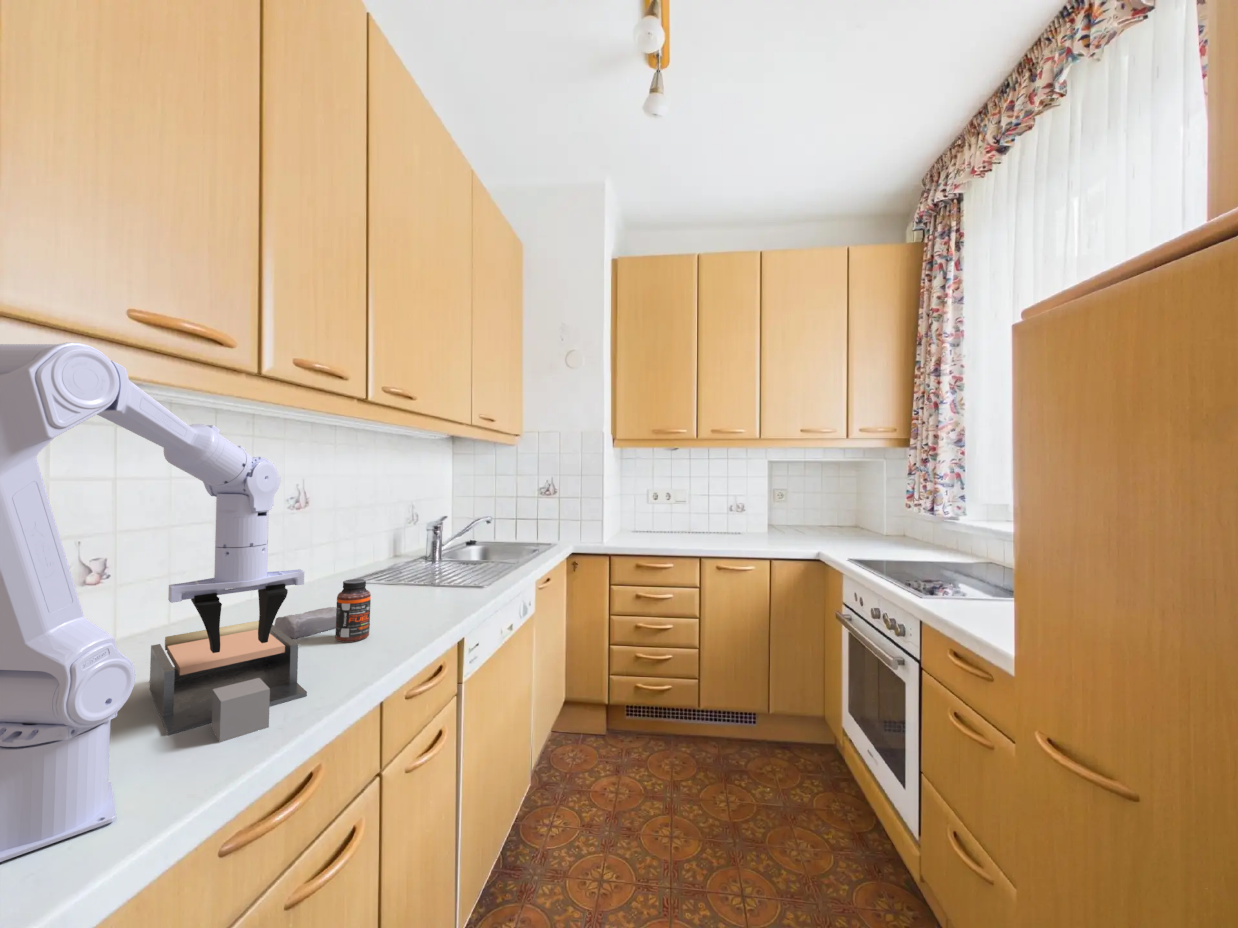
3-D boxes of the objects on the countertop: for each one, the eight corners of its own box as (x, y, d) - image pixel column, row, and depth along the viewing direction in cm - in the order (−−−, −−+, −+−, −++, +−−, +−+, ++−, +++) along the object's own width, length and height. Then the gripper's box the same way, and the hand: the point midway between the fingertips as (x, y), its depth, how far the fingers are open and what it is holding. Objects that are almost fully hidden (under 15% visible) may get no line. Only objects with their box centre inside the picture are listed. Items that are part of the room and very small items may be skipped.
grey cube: (219, 743, 61) (220, 701, 61) (211, 728, 64) (212, 689, 64) (268, 727, 64) (269, 688, 64) (258, 714, 68) (259, 677, 68)
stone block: (267, 642, 101) (296, 640, 97) (266, 618, 102) (294, 615, 97) (326, 629, 112) (354, 626, 107) (324, 607, 112) (352, 603, 108)
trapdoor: (179, 675, 67) (180, 660, 67) (164, 648, 76) (164, 635, 76) (284, 652, 76) (285, 638, 76) (259, 630, 85) (259, 619, 85)
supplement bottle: (348, 645, 95) (350, 585, 95) (328, 640, 97) (329, 581, 98) (376, 636, 100) (377, 579, 100) (356, 631, 103) (357, 576, 103)
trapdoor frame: (167, 735, 62) (169, 682, 62) (149, 689, 75) (150, 645, 75) (306, 695, 73) (307, 651, 73) (270, 661, 86) (271, 623, 86)
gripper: (294, 537, 76) (292, 627, 76) (166, 547, 65) (163, 651, 65) (309, 542, 71) (307, 638, 71) (174, 553, 60) (171, 666, 60)
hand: (239, 645), depth 68 cm, fingers open, 5 cm apart
